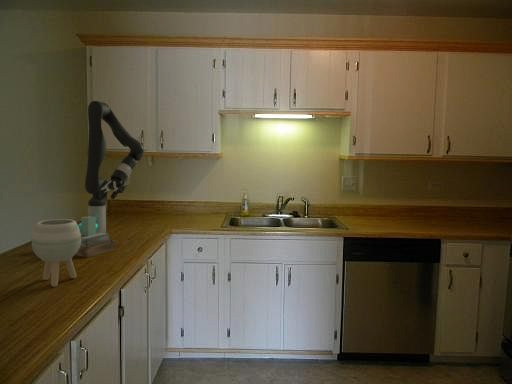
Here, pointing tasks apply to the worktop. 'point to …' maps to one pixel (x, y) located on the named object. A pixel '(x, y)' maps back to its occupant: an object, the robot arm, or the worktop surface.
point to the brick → (88, 226)
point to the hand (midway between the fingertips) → (105, 197)
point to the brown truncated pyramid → (95, 245)
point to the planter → (56, 246)
